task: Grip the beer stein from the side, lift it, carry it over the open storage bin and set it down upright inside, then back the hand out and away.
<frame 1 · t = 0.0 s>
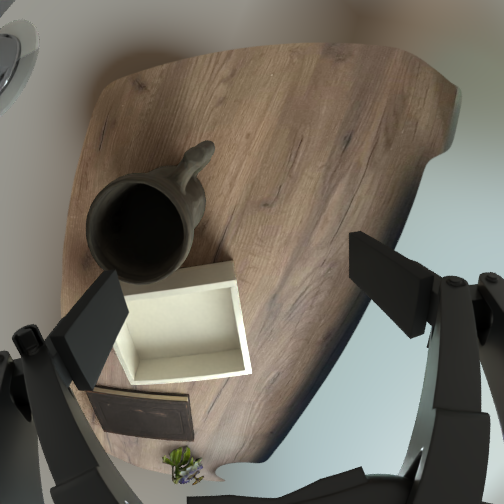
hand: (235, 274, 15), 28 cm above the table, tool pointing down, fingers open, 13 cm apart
passion flower: (183, 455, 61), on the table
hardcover book: (142, 412, 54), on the table
open storage bin: (179, 316, 47), on the table
beer stein: (177, 187, 41), on the table
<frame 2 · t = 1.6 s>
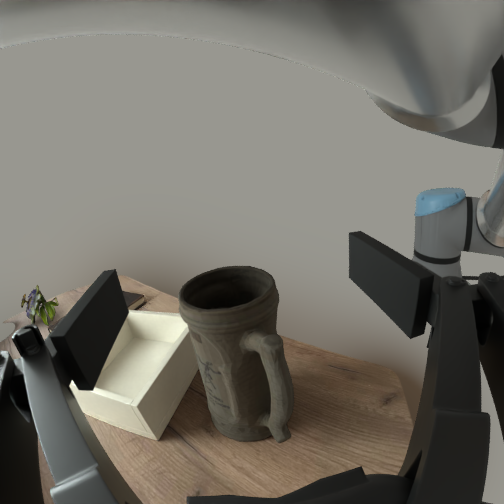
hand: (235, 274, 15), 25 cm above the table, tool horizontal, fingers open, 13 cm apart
passion flower: (45, 319, 64), on the table
hardcover book: (96, 320, 62), on the table
open storage bin: (142, 381, 41), on the table
beer stein: (262, 421, 32), on the table
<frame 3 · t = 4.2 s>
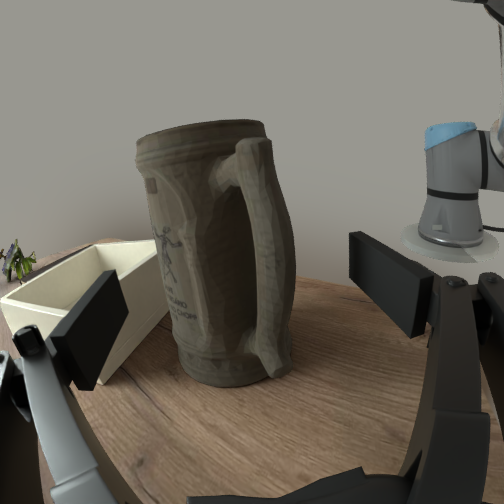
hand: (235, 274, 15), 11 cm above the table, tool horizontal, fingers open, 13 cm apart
passion flower: (22, 277, 56), on the table
hardcover book: (72, 272, 54), on the table
open storage bin: (104, 320, 33), on the table
beer stein: (250, 362, 24), on the table
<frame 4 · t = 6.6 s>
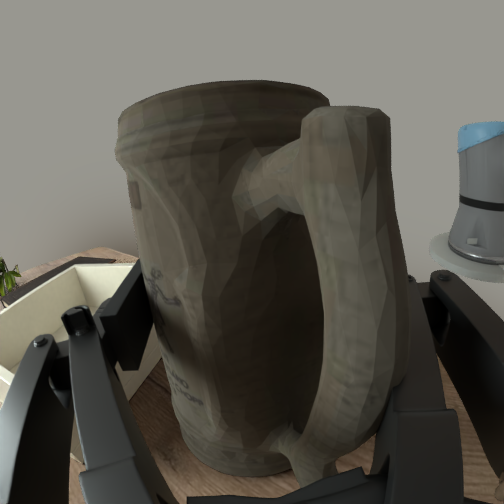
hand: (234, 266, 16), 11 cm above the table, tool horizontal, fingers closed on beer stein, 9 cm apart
passion flower: (6, 293, 48), on the table
hardcover book: (57, 290, 46), on the table
open storage bin: (84, 364, 25), on the table
beer stein: (274, 439, 16), on the table, touching gripper
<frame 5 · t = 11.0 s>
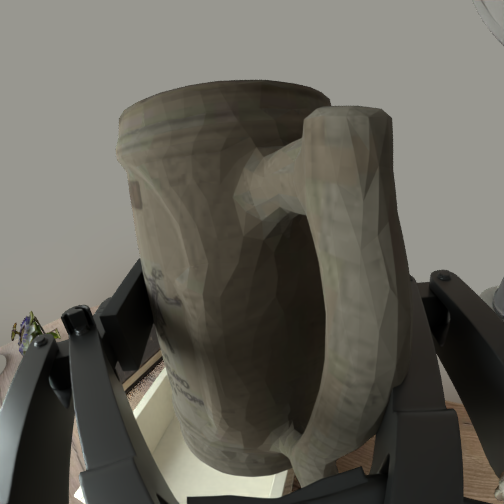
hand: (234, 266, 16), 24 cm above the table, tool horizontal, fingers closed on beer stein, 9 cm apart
passion flower: (44, 355, 46), on the table
hardcover book: (115, 363, 44), on the table
open storage bin: (213, 478, 23), on the table
beer stein: (275, 439, 16), point 13 cm above the table, touching gripper
when the fingers open (13 cm above the table, at t = 15.5 s): beer stein stays where it is, resting on open storage bin.
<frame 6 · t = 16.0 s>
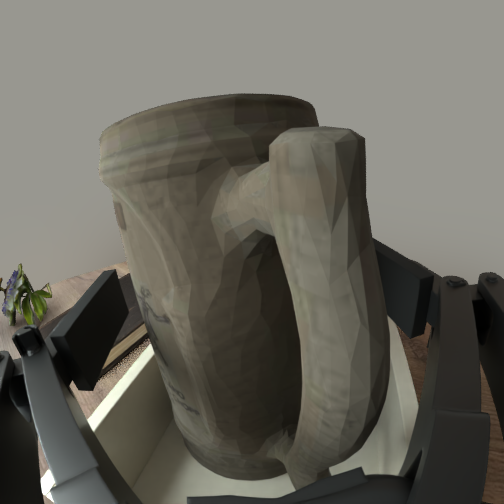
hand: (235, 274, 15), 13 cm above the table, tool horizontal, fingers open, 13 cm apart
passion flower: (32, 318, 39), on the table
hardcover book: (117, 320, 37), on the table
open storage bin: (267, 456, 16), on the table
beer stein: (274, 442, 16), point 1 cm above the table, touching open storage bin
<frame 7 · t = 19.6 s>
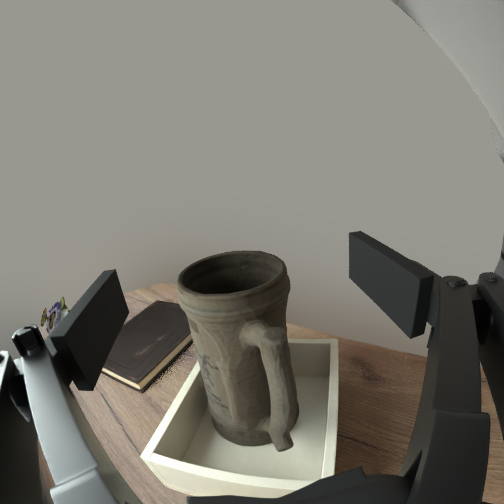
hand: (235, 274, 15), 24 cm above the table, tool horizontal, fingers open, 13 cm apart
passion flower: (73, 340, 52), on the table
hardcover book: (151, 343, 50), on the table
open storage bin: (262, 434, 29), on the table
beer stein: (266, 425, 29), point 1 cm above the table, touching open storage bin
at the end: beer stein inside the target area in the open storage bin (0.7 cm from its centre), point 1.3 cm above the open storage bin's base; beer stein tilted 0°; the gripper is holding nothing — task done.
